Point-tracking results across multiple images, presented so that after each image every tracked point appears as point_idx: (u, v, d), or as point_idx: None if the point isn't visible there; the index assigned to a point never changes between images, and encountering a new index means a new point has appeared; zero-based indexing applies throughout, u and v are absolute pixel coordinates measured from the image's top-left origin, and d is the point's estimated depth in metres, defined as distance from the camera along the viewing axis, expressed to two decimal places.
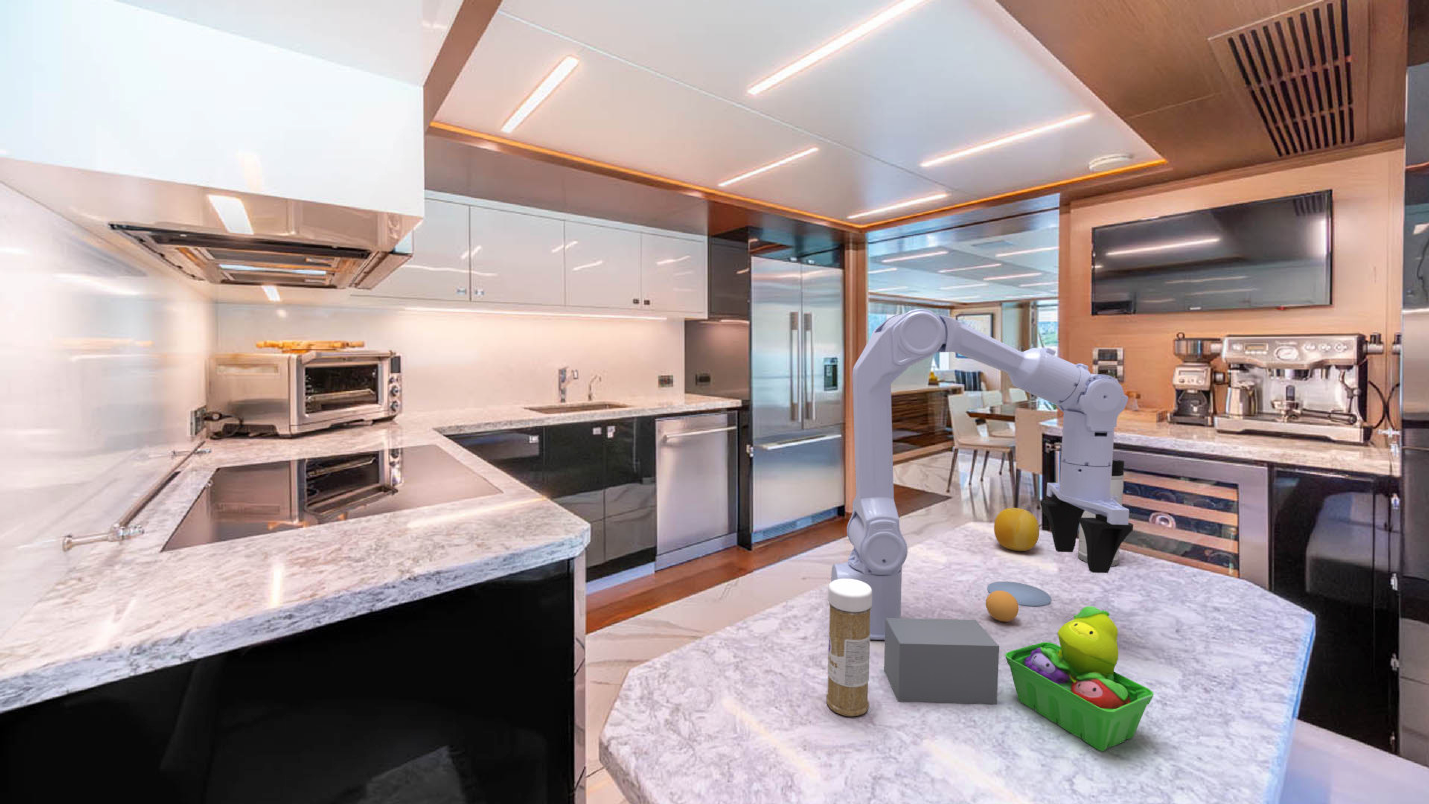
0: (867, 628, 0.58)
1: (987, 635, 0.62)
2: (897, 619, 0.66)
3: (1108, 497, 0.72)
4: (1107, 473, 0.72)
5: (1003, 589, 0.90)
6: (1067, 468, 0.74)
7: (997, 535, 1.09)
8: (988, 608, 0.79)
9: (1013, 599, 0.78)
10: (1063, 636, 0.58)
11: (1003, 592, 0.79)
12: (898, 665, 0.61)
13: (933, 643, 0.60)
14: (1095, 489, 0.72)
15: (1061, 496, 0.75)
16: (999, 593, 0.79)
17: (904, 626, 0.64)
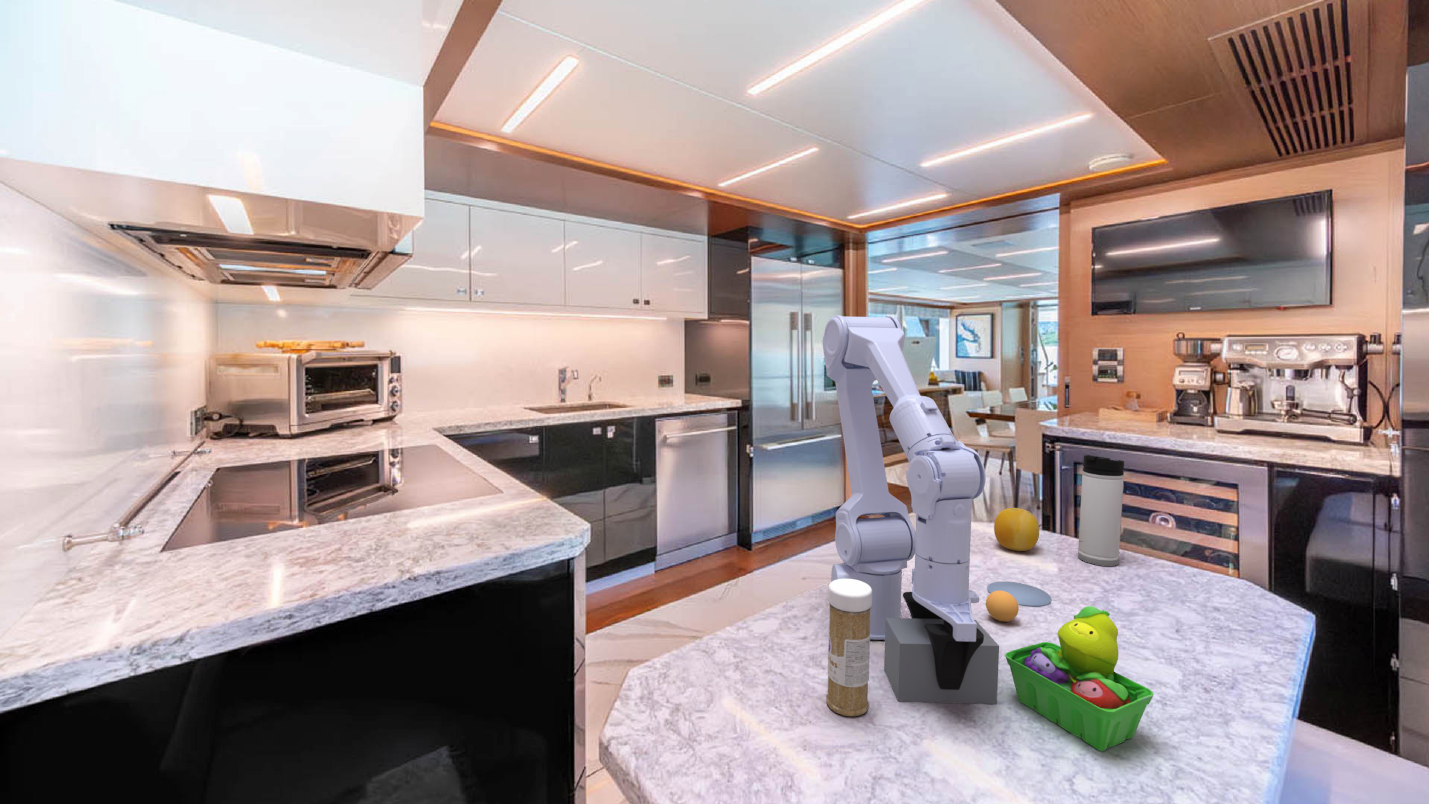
0: (867, 628, 0.58)
1: (987, 635, 0.62)
2: (897, 619, 0.66)
3: (964, 599, 0.60)
4: (961, 571, 0.60)
5: (1003, 589, 0.90)
6: (918, 562, 0.62)
7: (997, 535, 1.09)
8: (988, 608, 0.79)
9: (1013, 599, 0.78)
10: (1063, 637, 0.58)
11: (1003, 592, 0.79)
12: (898, 665, 0.61)
13: None
14: (947, 590, 0.60)
15: (913, 594, 0.63)
16: (999, 593, 0.79)
17: (904, 626, 0.64)
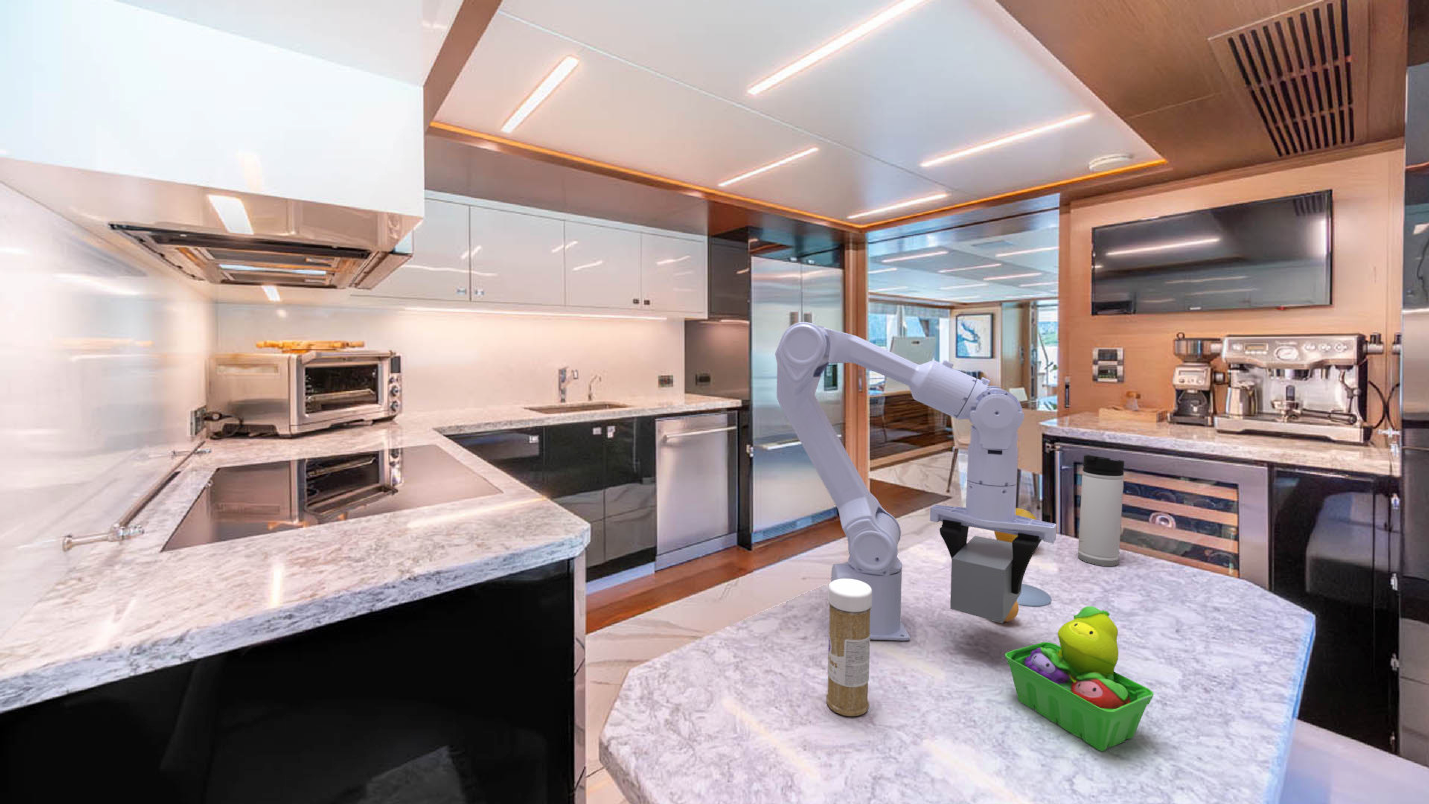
0: (867, 628, 0.58)
1: (1003, 541, 0.75)
2: (957, 556, 0.70)
3: None
4: None
5: None
6: (990, 491, 0.68)
7: (997, 535, 1.09)
8: None
9: None
10: (1063, 636, 0.58)
11: None
12: (1000, 591, 0.66)
13: (1009, 560, 0.68)
14: (1014, 508, 0.69)
15: (984, 522, 0.69)
16: None
17: (972, 558, 0.69)
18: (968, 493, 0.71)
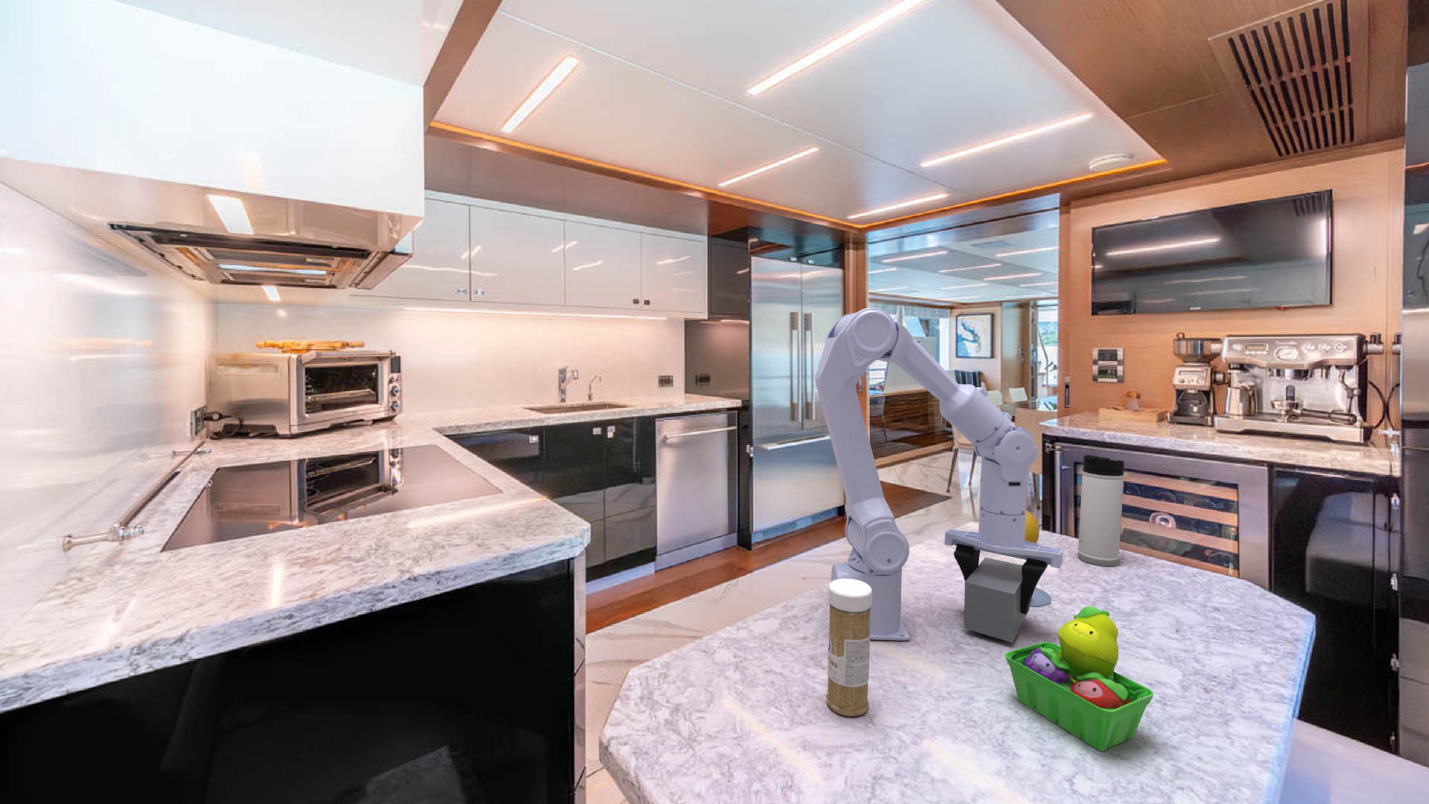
0: (867, 628, 0.58)
1: (1012, 563, 0.80)
2: (970, 579, 0.76)
3: None
4: None
5: None
6: (1002, 519, 0.74)
7: None
8: None
9: None
10: (1063, 637, 0.58)
11: None
12: (1010, 613, 0.71)
13: (1018, 583, 0.74)
14: (1023, 535, 0.75)
15: (996, 548, 0.75)
16: None
17: (984, 581, 0.75)
18: (981, 520, 0.77)
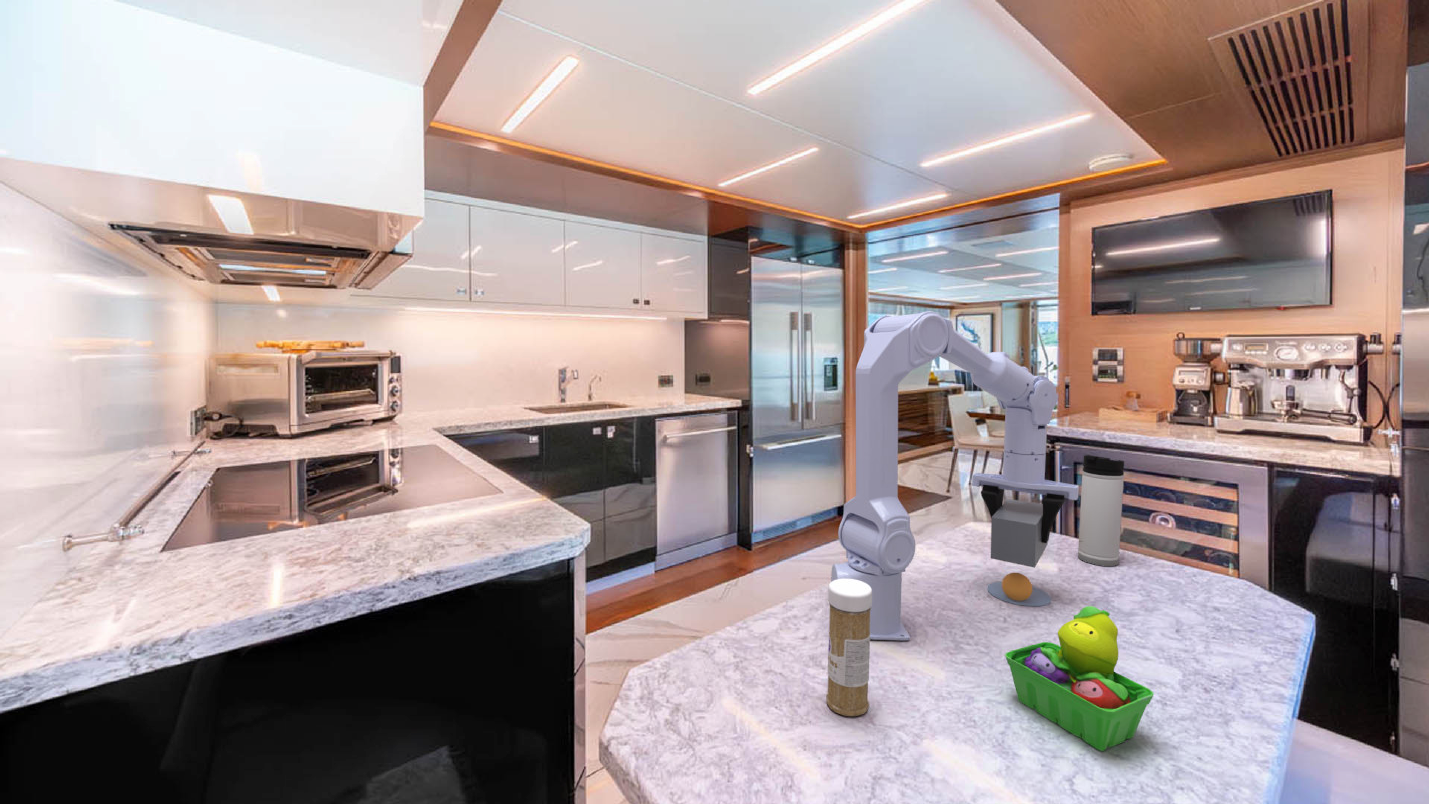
0: (867, 628, 0.58)
1: (1032, 503, 0.90)
2: (996, 515, 0.85)
3: None
4: None
5: None
6: (1025, 459, 0.84)
7: None
8: None
9: (1025, 597, 0.84)
10: (1063, 636, 0.58)
11: (1014, 597, 0.85)
12: (1033, 541, 0.81)
13: (1039, 517, 0.83)
14: (1043, 473, 0.84)
15: (1019, 484, 0.84)
16: (1012, 598, 0.85)
17: (1009, 516, 0.84)
18: (1005, 461, 0.87)
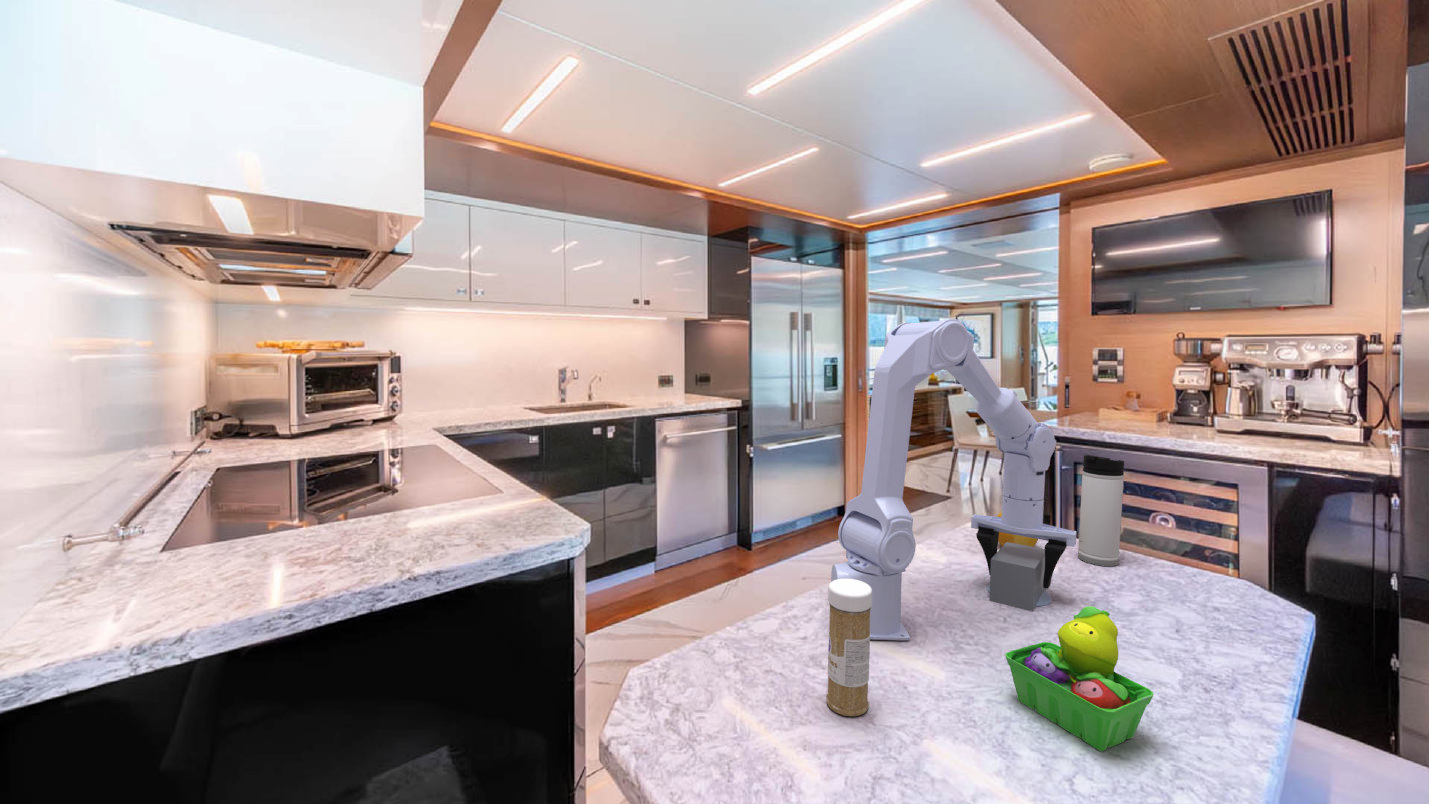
0: (867, 628, 0.58)
1: (1031, 547, 0.91)
2: (995, 557, 0.86)
3: None
4: None
5: None
6: (1023, 504, 0.85)
7: None
8: None
9: None
10: (1063, 637, 0.58)
11: None
12: (1031, 585, 0.82)
13: (1037, 561, 0.85)
14: (1042, 518, 0.85)
15: (1018, 529, 0.85)
16: None
17: (1008, 559, 0.85)
18: (1004, 506, 0.87)
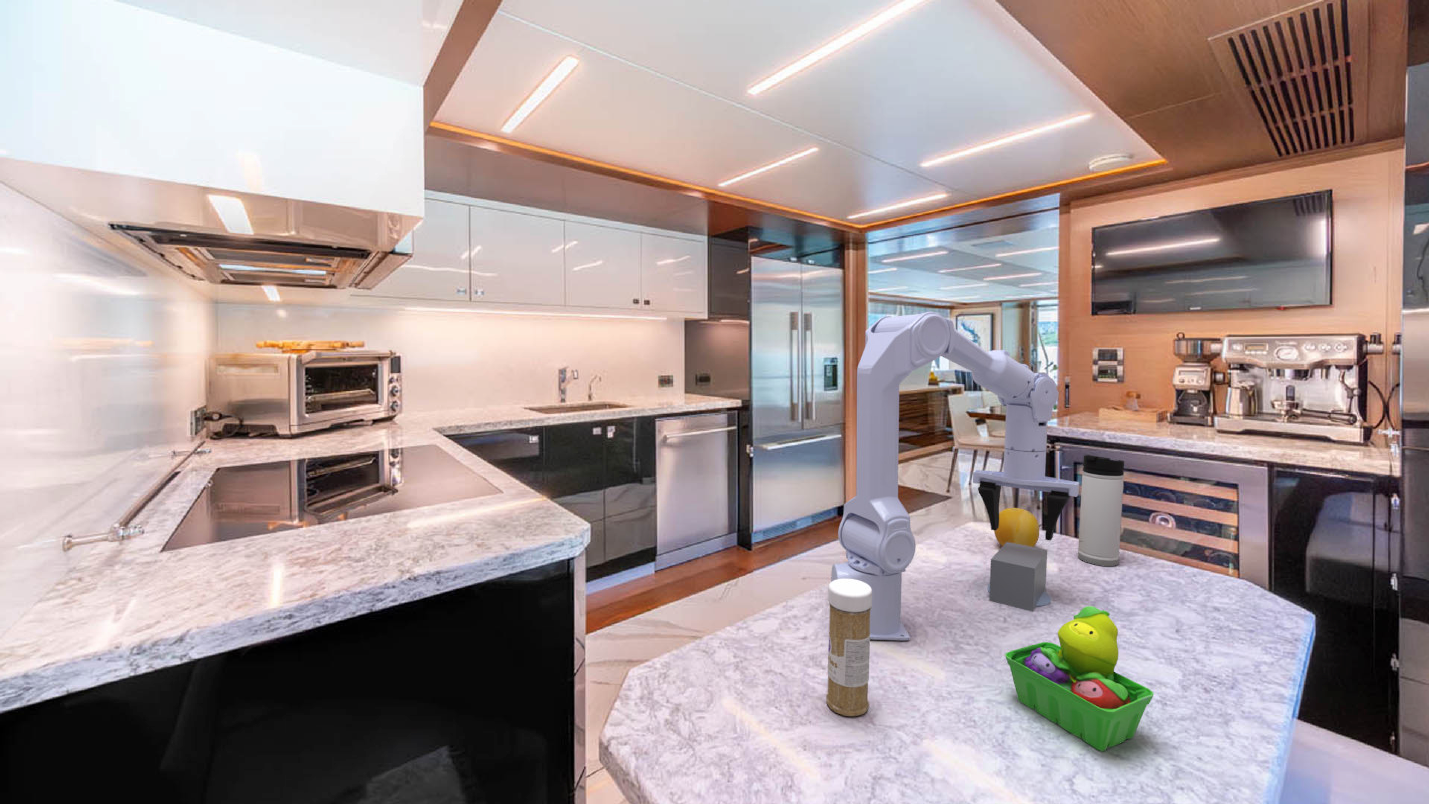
0: (867, 628, 0.58)
1: (1031, 547, 0.91)
2: (995, 557, 0.86)
3: None
4: None
5: None
6: (1025, 456, 0.84)
7: (997, 535, 1.09)
8: None
9: None
10: (1063, 636, 0.58)
11: None
12: (1031, 585, 0.82)
13: (1037, 561, 0.85)
14: (1044, 469, 0.85)
15: (1020, 481, 0.85)
16: None
17: (1008, 559, 0.85)
18: (1006, 458, 0.87)
